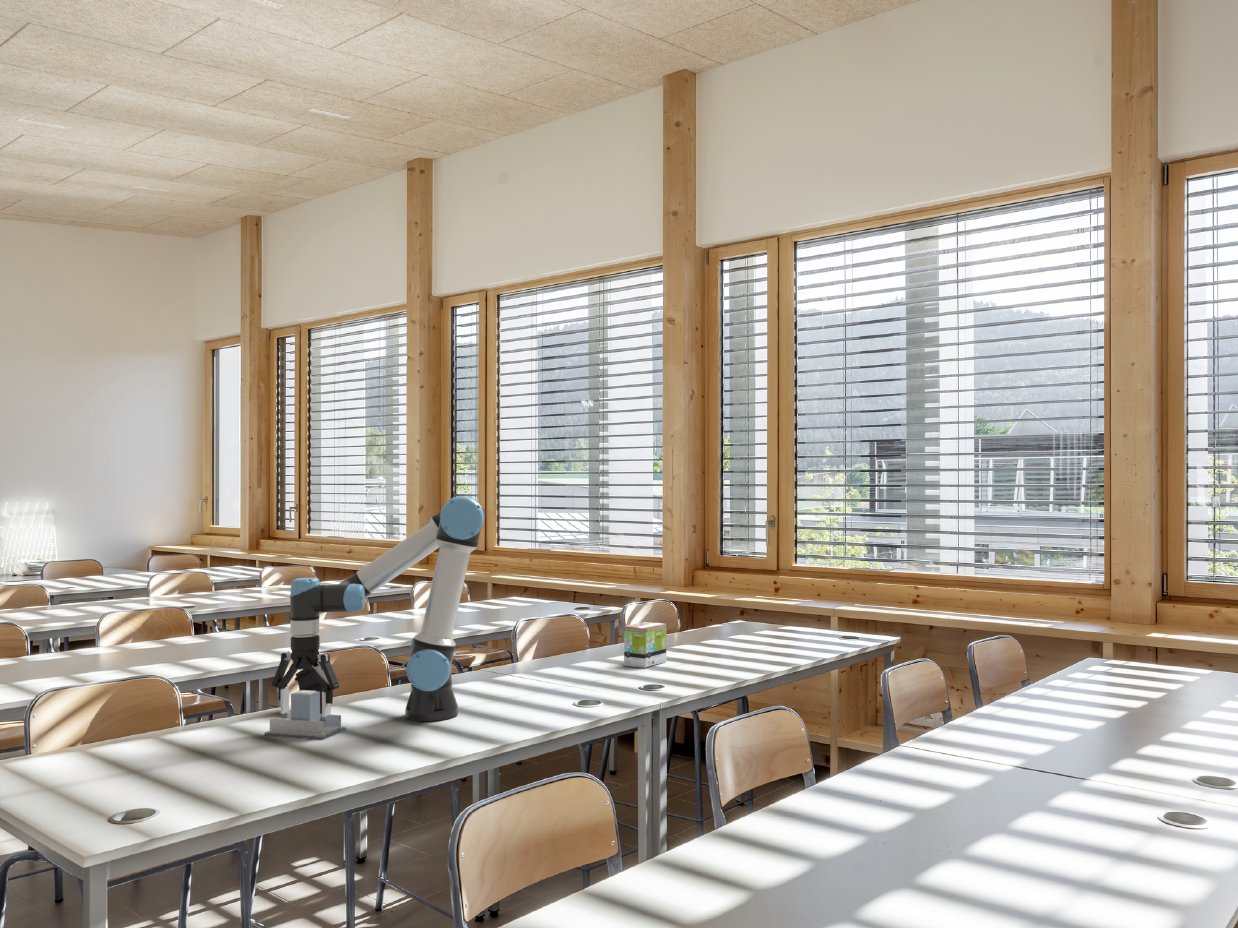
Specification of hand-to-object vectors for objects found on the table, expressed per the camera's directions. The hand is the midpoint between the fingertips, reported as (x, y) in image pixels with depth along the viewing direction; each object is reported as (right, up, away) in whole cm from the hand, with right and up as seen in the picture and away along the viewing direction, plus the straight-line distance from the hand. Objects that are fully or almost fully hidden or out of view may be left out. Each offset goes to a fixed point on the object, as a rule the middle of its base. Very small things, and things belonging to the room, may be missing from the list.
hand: (305, 714), depth 262 cm
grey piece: (0, -5, 0) cm, 5 cm away
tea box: (+95, -7, +96) cm, 136 cm away
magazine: (-6, -6, +26) cm, 28 cm away
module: (0, -3, 0) cm, 3 cm away
